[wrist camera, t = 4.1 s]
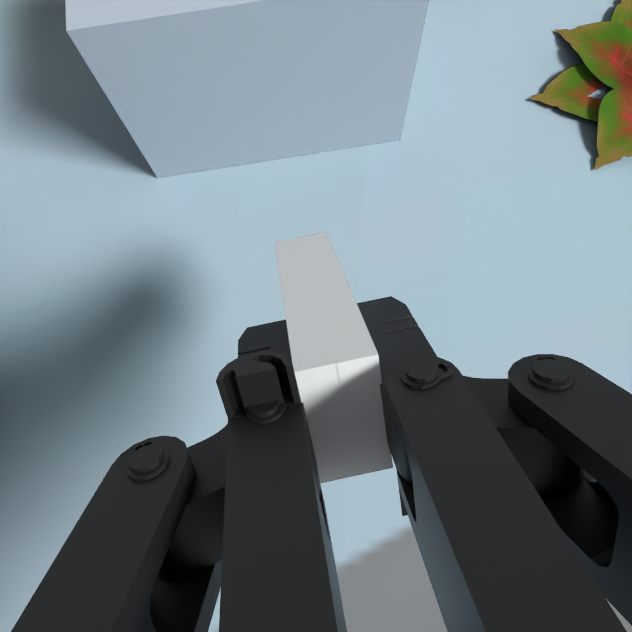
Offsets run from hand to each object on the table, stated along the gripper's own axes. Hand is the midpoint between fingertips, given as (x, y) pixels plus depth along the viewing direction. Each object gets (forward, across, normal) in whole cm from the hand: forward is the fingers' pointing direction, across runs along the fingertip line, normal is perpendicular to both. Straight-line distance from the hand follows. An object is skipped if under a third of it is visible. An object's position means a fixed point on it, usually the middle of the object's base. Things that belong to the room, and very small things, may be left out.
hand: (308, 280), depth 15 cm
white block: (+15, 0, -4) cm, 15 cm away
